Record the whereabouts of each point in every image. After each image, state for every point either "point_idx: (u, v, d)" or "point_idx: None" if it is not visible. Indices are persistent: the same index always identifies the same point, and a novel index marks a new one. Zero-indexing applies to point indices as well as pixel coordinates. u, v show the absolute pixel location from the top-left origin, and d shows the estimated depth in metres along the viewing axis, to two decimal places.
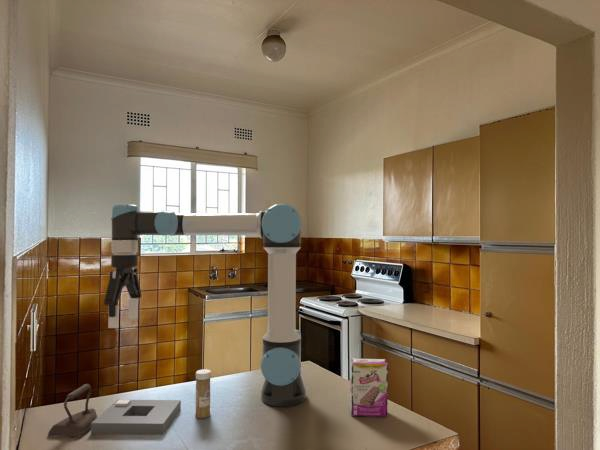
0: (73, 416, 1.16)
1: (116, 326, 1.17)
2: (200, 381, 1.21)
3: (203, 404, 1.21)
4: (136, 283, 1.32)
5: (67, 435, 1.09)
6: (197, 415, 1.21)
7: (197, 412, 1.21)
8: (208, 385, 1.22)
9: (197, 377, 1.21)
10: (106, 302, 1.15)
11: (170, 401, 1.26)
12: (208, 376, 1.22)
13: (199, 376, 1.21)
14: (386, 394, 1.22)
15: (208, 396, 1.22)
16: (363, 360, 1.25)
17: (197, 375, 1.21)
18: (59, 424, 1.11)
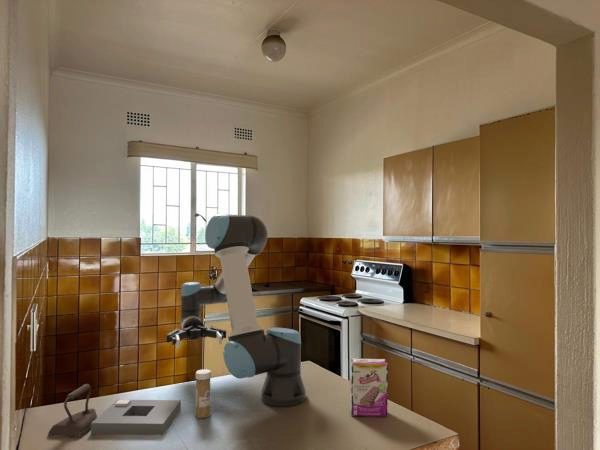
0: (73, 416, 1.16)
1: (177, 340, 1.30)
2: (200, 381, 1.21)
3: (203, 404, 1.21)
4: (216, 329, 1.45)
5: (67, 435, 1.09)
6: (197, 415, 1.21)
7: (197, 412, 1.21)
8: (208, 385, 1.22)
9: (197, 377, 1.21)
10: (166, 340, 1.36)
11: (170, 401, 1.26)
12: (208, 376, 1.22)
13: (199, 376, 1.21)
14: (386, 394, 1.22)
15: (208, 396, 1.22)
16: (363, 360, 1.25)
17: (197, 375, 1.21)
18: (59, 424, 1.11)
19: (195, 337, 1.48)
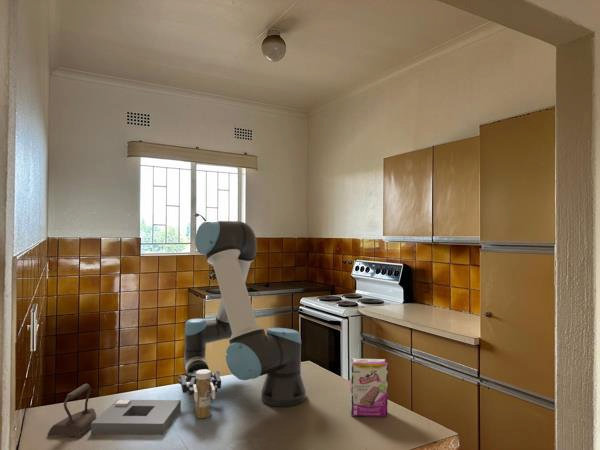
0: (73, 416, 1.16)
1: (194, 392, 1.17)
2: (200, 381, 1.21)
3: (203, 404, 1.21)
4: (215, 377, 1.31)
5: (67, 435, 1.09)
6: (197, 415, 1.21)
7: (197, 412, 1.21)
8: (208, 385, 1.22)
9: (197, 377, 1.21)
10: (182, 390, 1.23)
11: (170, 401, 1.26)
12: (208, 376, 1.22)
13: (199, 376, 1.21)
14: (386, 394, 1.22)
15: (208, 396, 1.22)
16: (363, 360, 1.25)
17: (197, 375, 1.21)
18: (59, 424, 1.11)
19: None
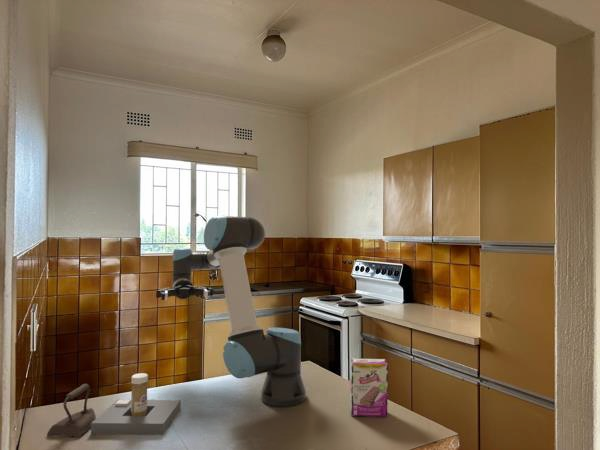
0: (72, 416, 1.16)
1: (165, 293, 1.38)
2: (135, 385, 1.17)
3: (138, 409, 1.17)
4: (204, 288, 1.53)
5: (67, 435, 1.09)
6: None
7: None
8: (144, 389, 1.18)
9: (132, 381, 1.17)
10: (156, 295, 1.44)
11: (170, 401, 1.26)
12: (144, 380, 1.18)
13: (134, 380, 1.17)
14: (386, 394, 1.22)
15: (144, 401, 1.18)
16: (363, 360, 1.25)
17: (132, 379, 1.18)
18: (58, 424, 1.11)
19: (185, 297, 1.56)
